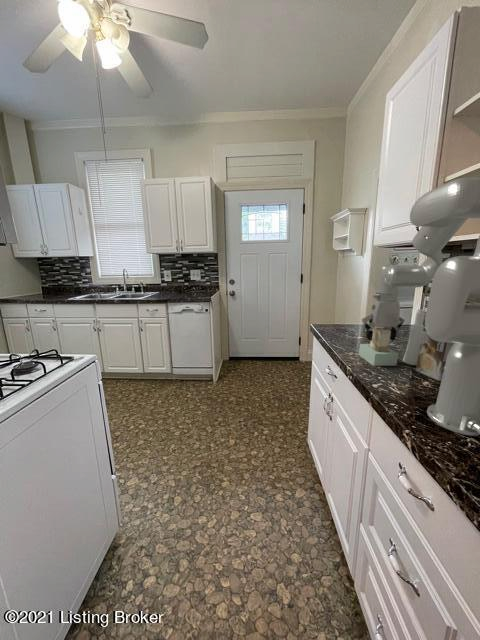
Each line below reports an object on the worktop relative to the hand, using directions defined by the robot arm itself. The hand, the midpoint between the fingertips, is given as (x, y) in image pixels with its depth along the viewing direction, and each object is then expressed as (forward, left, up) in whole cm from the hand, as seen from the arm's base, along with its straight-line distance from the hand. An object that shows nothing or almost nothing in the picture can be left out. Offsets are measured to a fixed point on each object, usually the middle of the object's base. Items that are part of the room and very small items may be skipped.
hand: (380, 339), depth 108 cm
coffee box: (-14, -13, -9) cm, 21 cm away
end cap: (0, 0, -9) cm, 9 cm away
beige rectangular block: (0, 0, -8) cm, 8 cm away
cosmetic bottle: (-3, -13, -9) cm, 16 cm away
